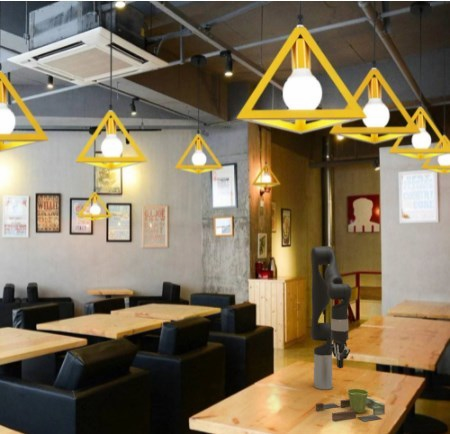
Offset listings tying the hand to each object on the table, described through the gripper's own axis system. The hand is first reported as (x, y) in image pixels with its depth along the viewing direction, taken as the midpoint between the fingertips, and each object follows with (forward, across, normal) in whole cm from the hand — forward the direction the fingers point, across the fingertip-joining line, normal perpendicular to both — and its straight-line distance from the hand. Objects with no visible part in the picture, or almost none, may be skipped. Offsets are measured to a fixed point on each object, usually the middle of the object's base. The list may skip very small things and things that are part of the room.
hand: (340, 367), depth 232 cm
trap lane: (+20, 0, +5) cm, 21 cm away
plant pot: (+20, 0, +9) cm, 22 cm away
